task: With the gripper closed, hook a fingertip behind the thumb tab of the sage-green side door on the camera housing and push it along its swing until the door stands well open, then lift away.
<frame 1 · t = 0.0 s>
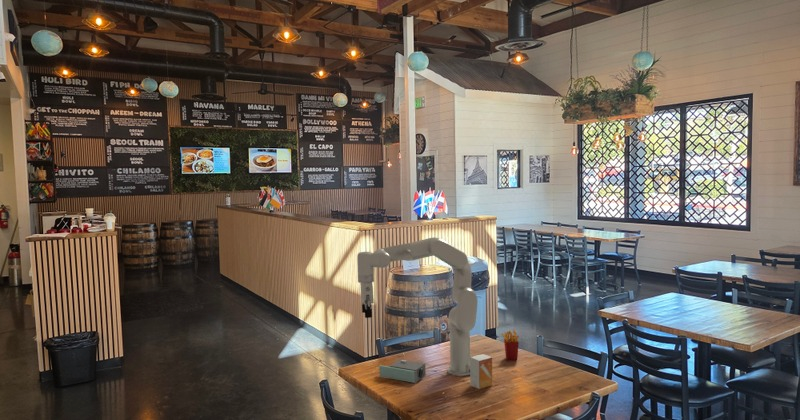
hand: (367, 314, 244), 31 cm above the table, tool pointing down, fingers open, 9 cm apart
door: (397, 373, 245), point 3 cm above the table, hinge at 0.0°
housing: (407, 376, 249), on the table
french fries: (509, 359, 271), on the table
small box: (481, 385, 236), on the table
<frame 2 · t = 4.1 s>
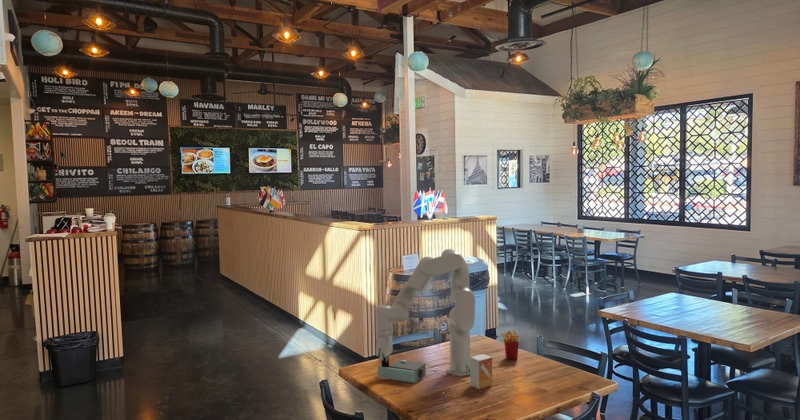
hand: (385, 369, 249), 4 cm above the table, tool pointing down, fingers closed
door: (397, 374, 244), point 3 cm above the table, hinge at 4.5°, touching gripper
everything else where it was.
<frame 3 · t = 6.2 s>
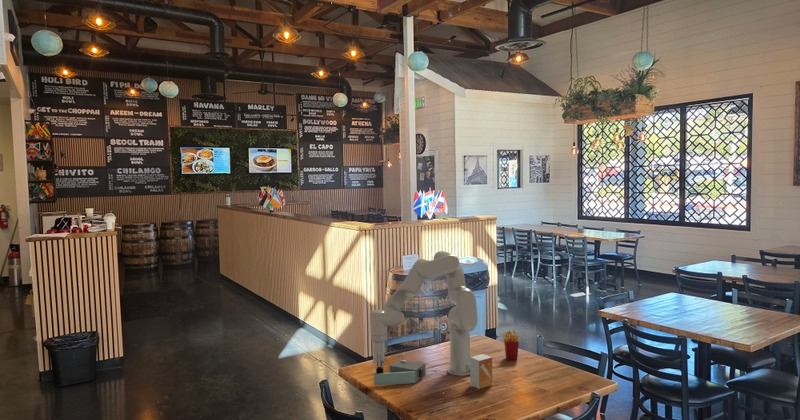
hand: (379, 376, 241), 4 cm above the table, tool pointing down, fingers closed
door: (395, 378, 239), point 3 cm above the table, hinge at 35.1°, touching gripper
everything else where it was.
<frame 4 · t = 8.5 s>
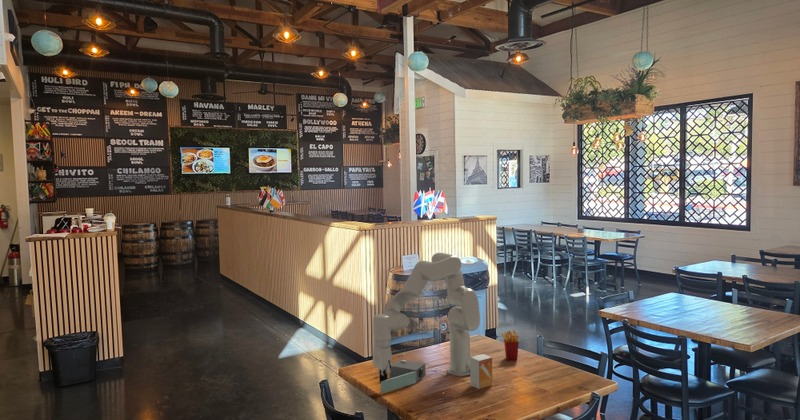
hand: (383, 383, 233), 4 cm above the table, tool pointing down, fingers closed
door: (399, 382, 235), point 3 cm above the table, hinge at 65.3°, touching gripper
everything else where it was.
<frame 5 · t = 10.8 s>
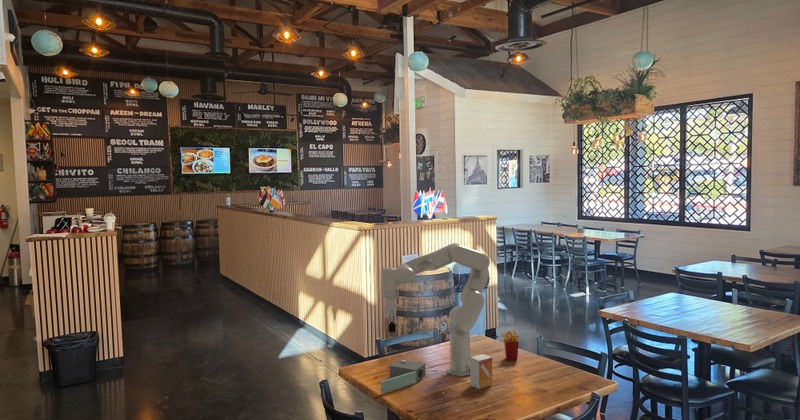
hand: (392, 331, 249), 22 cm above the table, tool pointing down, fingers closed
door: (399, 382, 235), point 3 cm above the table, hinge at 65.5°
everything else where it was.
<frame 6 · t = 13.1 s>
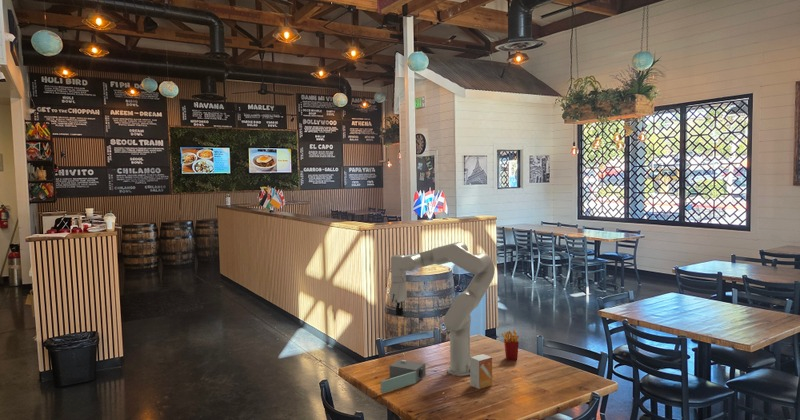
hand: (399, 314, 266), 25 cm above the table, tool pointing down, fingers closed
nothing on the table moved.
at the end: door at +66° (first picture: +0°) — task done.
